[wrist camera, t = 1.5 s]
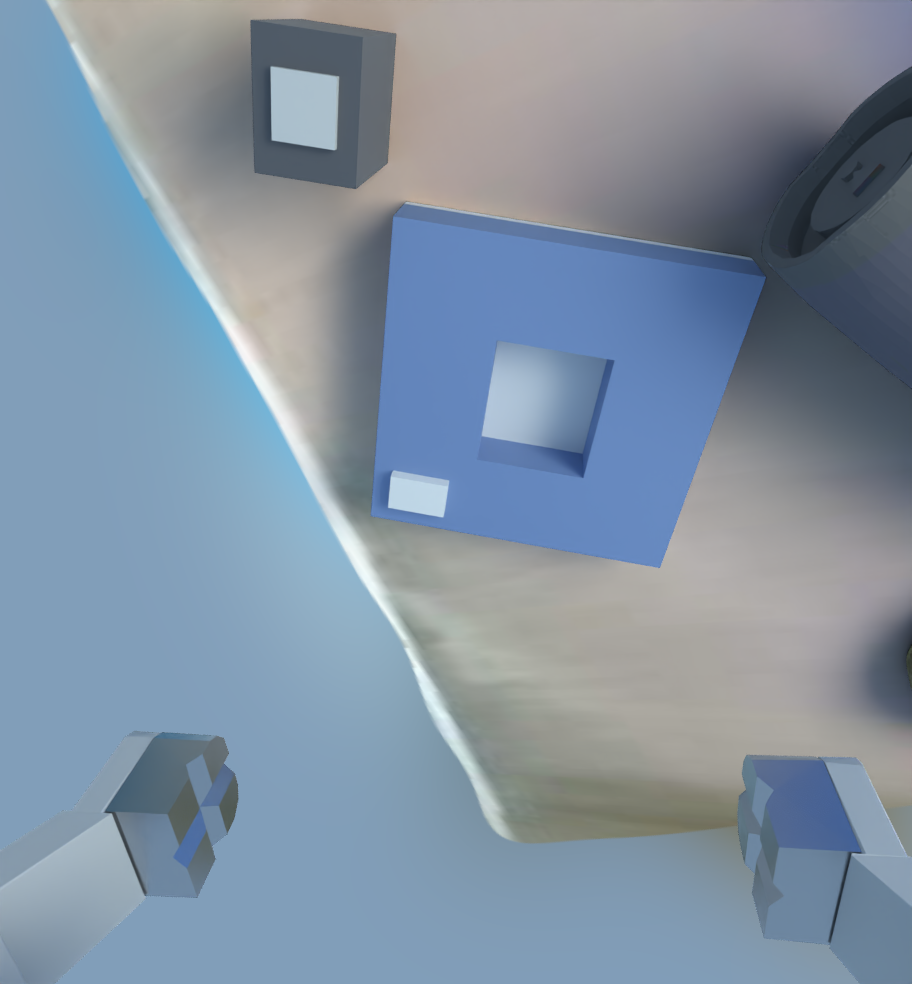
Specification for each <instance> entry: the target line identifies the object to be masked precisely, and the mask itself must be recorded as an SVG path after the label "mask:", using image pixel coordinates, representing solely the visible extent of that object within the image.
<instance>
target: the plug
mask: <svg viewBox="0 0 912 984" xmlns="http://www.w3.org/2000/svg"><path fill="white" fill-rule="evenodd" d="M395 45H396V34H395V33H389V32H382V31H376V30H369V29H363V28H356V27H350V26H343V25H336V24H330V23H323V22H317V21H310V20H304V19H277V20H251V57H252V95H253V132H254V169H255V173H260V174H266V175H273V176H279V177H285V178H291V179H297V180H303V181H310V182H316V183H322V184H328V185H334V186H341V187H347V188H353V189H357V188H358V187H359V186H360V185H361V184H363V183H364V182H365V181H366V180H367V179H369V178H370V177H371V176H372V175H374V174H375V173H376V172H377V171H378V170H380V169H381V168H382V167H383V166H385V165H386V164H387V163H388V149H389V134H390V120H391V105H392V90H393V75H394V60H395Z"/></svg>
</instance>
